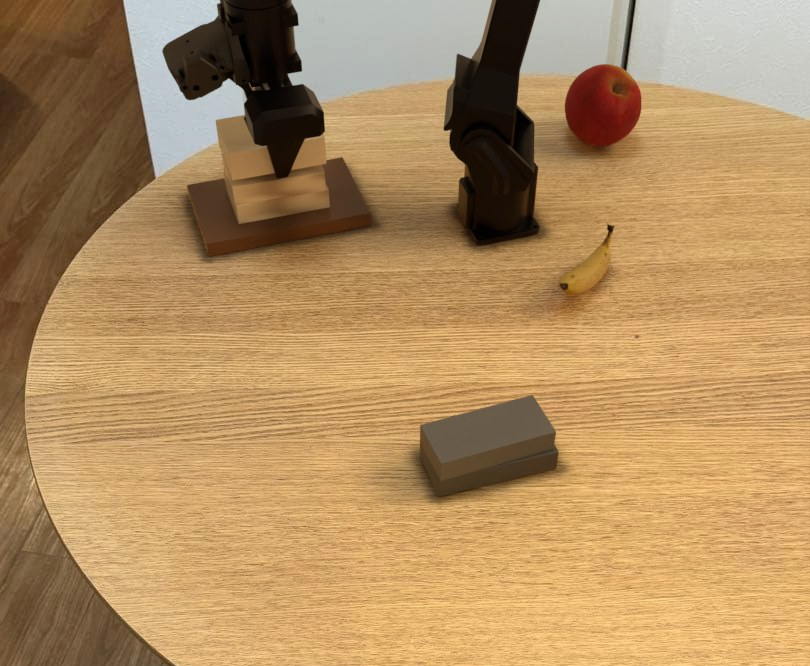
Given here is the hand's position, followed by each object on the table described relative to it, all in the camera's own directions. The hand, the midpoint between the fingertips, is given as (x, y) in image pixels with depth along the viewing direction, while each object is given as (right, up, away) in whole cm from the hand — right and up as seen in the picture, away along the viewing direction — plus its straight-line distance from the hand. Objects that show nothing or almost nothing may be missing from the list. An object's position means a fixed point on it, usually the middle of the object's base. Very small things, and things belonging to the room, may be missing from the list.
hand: (274, 158), depth 109 cm
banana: (+29, -13, -3) cm, 32 cm away
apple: (+33, +6, +13) cm, 36 cm away
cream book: (0, 0, 0) cm, 0 cm away
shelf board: (0, -4, +5) cm, 6 cm away
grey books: (+19, -30, -17) cm, 39 cm away
